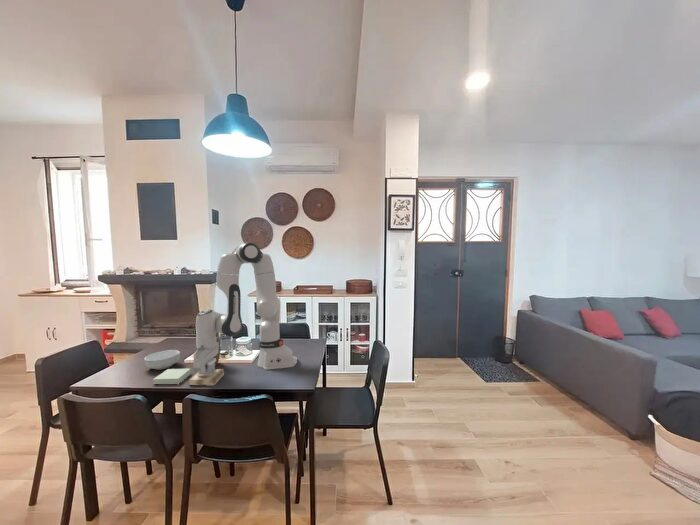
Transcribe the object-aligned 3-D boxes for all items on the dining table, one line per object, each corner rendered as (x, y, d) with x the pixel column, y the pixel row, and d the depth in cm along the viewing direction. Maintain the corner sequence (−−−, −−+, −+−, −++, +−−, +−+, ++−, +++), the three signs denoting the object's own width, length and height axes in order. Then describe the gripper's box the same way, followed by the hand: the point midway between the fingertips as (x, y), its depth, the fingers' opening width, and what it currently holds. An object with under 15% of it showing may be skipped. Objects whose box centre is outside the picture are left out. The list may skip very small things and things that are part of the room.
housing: (216, 371, 148) (216, 358, 147) (211, 376, 142) (211, 362, 142) (202, 372, 147) (202, 358, 147) (197, 376, 142) (196, 362, 142)
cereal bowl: (170, 359, 174) (170, 347, 174) (186, 364, 165) (185, 352, 165) (138, 369, 159) (138, 356, 159) (153, 375, 151) (153, 362, 151)
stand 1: (191, 374, 152) (190, 368, 152) (178, 384, 140) (178, 378, 140) (167, 374, 152) (167, 369, 152) (153, 385, 140) (153, 379, 140)
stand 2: (223, 374, 151) (223, 369, 151) (214, 385, 139) (214, 379, 139) (200, 375, 151) (200, 369, 151) (189, 386, 139) (188, 379, 139)
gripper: (202, 349, 134) (203, 378, 135) (220, 336, 154) (221, 361, 155) (189, 349, 134) (190, 379, 134) (208, 336, 154) (209, 362, 155)
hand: (206, 369), depth 145 cm, fingers closed on housing, 5 cm apart
